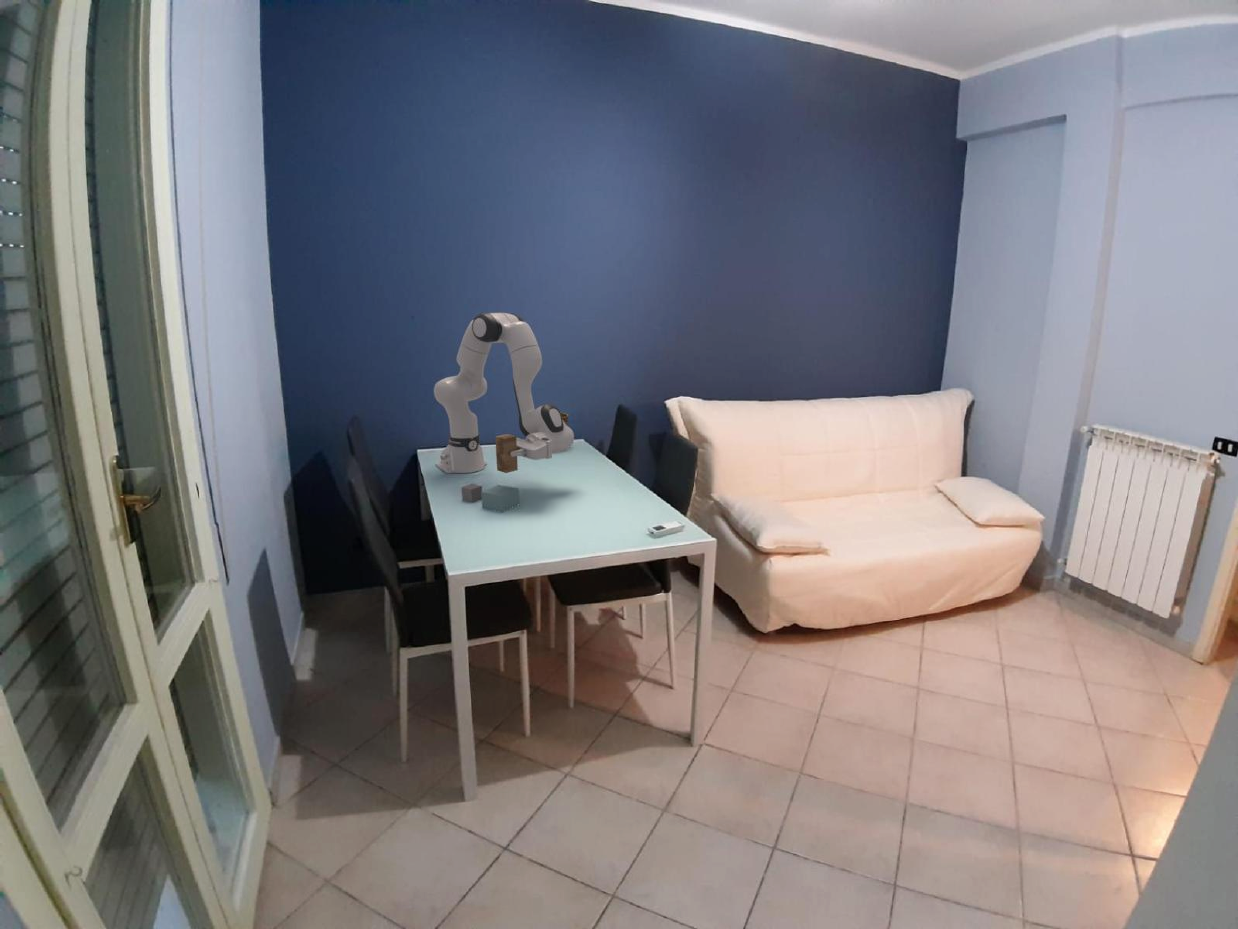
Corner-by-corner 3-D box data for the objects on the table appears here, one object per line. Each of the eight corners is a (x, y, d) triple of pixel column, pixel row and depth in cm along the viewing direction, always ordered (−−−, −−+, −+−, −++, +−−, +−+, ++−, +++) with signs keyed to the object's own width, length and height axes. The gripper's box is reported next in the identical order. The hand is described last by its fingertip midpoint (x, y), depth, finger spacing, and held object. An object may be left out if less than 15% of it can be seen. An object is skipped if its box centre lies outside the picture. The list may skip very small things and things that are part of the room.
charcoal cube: (462, 500, 218) (461, 487, 216) (473, 496, 222) (472, 483, 220) (472, 503, 215) (471, 489, 213) (482, 499, 219) (481, 485, 217)
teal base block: (482, 508, 210) (481, 491, 208) (499, 500, 218) (498, 484, 216) (502, 513, 206) (501, 496, 204) (519, 505, 213) (518, 488, 212)
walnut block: (497, 470, 210) (495, 436, 207) (508, 467, 214) (507, 433, 211) (505, 473, 207) (504, 438, 204) (517, 470, 211) (516, 436, 207)
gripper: (517, 431, 224) (486, 438, 214) (554, 441, 210) (522, 448, 201) (518, 448, 225) (487, 455, 216) (554, 459, 212) (523, 467, 202)
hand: (504, 452), depth 208 cm, fingers closed on walnut block, 5 cm apart
